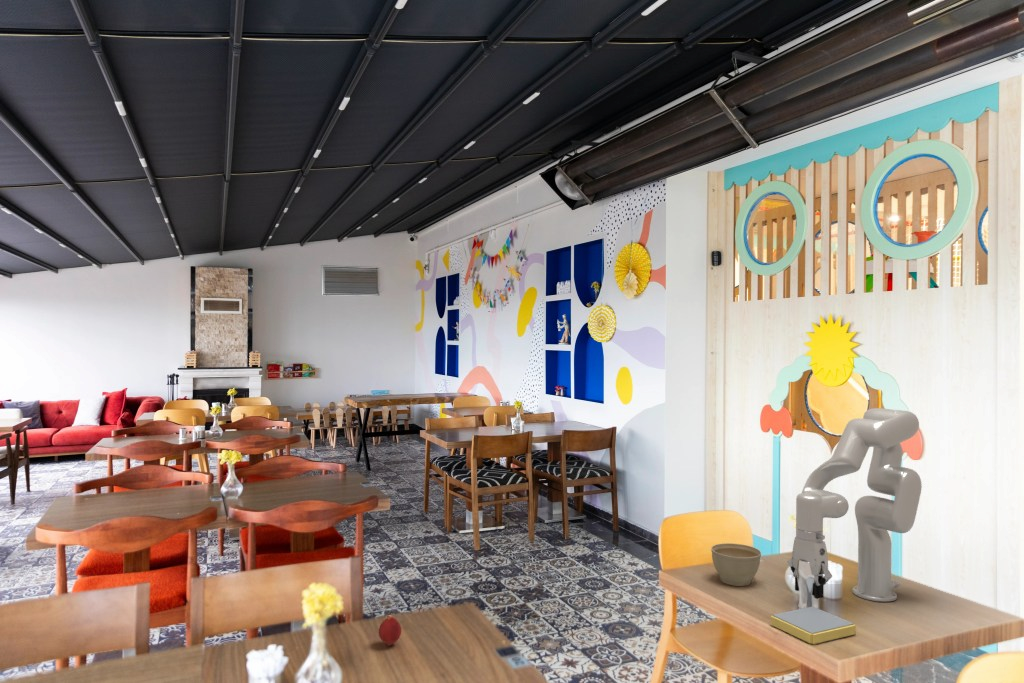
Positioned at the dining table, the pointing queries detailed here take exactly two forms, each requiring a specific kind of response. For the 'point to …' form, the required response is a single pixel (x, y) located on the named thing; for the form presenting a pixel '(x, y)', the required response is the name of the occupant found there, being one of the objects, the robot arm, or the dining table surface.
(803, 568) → the beer glass
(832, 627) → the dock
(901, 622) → the dining table surface
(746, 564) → the planter bowl
